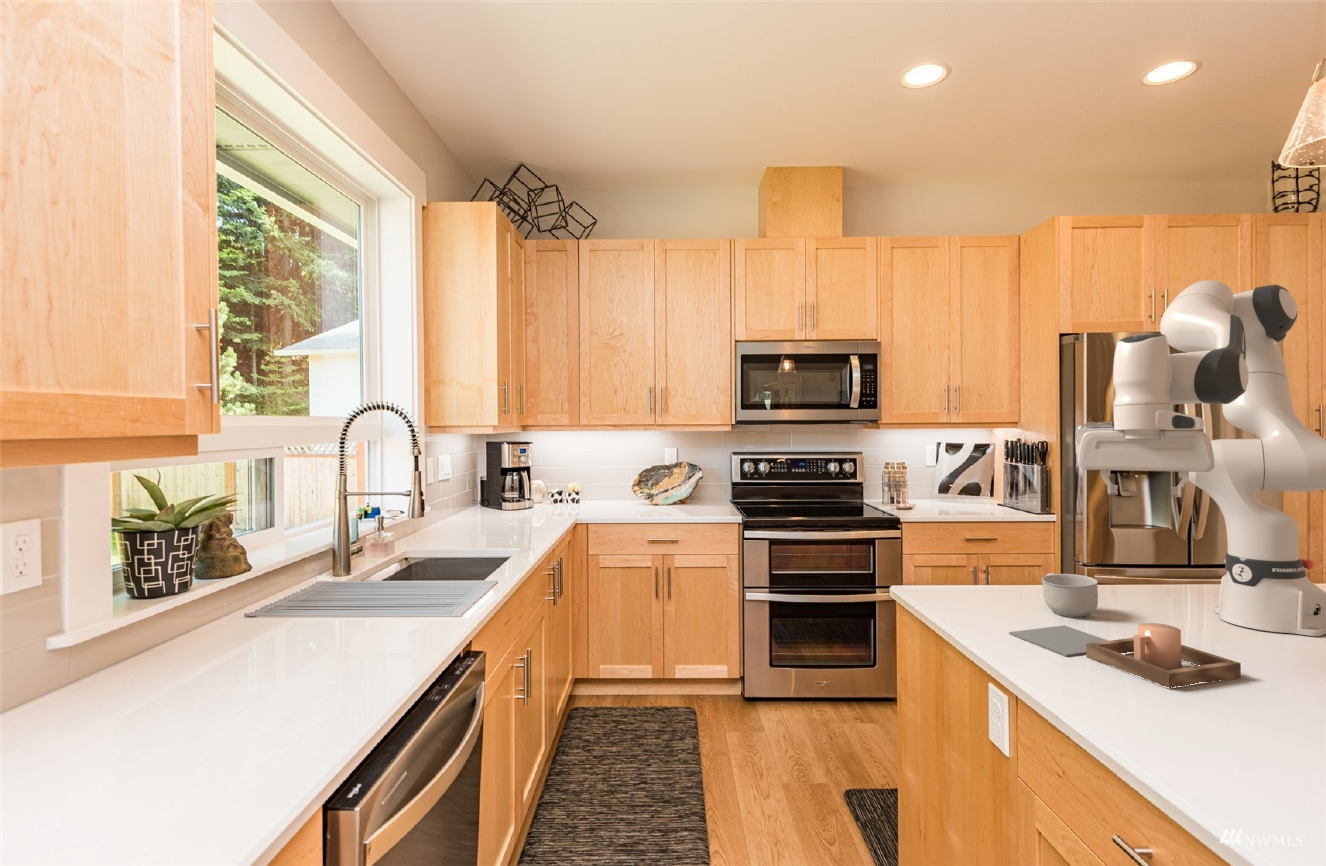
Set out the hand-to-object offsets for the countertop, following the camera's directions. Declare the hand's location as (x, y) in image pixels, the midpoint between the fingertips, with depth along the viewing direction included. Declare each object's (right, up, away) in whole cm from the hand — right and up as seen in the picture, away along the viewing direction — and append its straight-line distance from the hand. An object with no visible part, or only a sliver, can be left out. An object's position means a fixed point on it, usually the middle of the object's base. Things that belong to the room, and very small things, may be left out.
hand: (1143, 495), depth 120 cm
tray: (-1, -30, -5) cm, 30 cm away
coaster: (-9, -30, +10) cm, 33 cm away
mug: (-1, -30, -5) cm, 30 cm away
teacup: (+4, -30, +29) cm, 42 cm away
